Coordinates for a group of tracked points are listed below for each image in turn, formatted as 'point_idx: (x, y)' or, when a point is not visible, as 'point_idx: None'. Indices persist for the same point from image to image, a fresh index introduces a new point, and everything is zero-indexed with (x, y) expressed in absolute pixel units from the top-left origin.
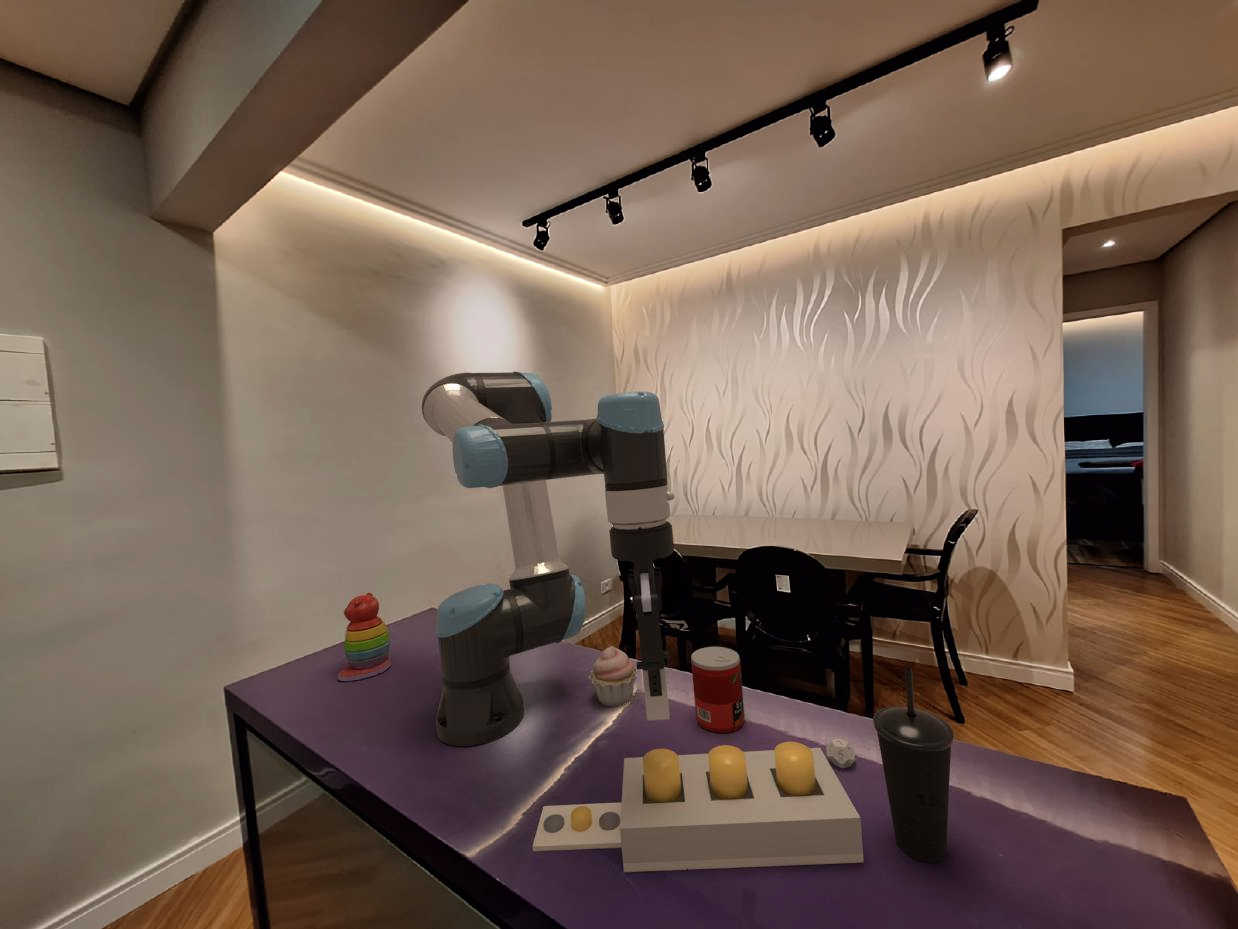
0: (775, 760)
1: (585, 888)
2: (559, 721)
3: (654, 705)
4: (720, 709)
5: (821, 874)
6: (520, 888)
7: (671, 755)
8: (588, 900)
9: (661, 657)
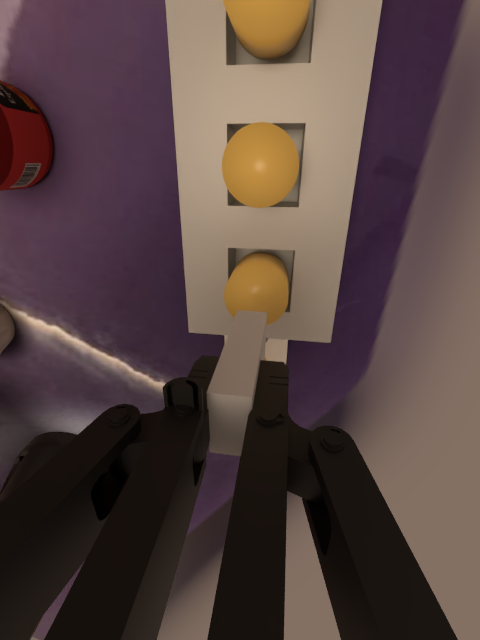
0: (262, 42)
1: (336, 354)
2: (62, 392)
3: (262, 359)
4: (19, 138)
5: (381, 33)
6: (325, 409)
7: (245, 278)
8: (351, 351)
9: (372, 485)
